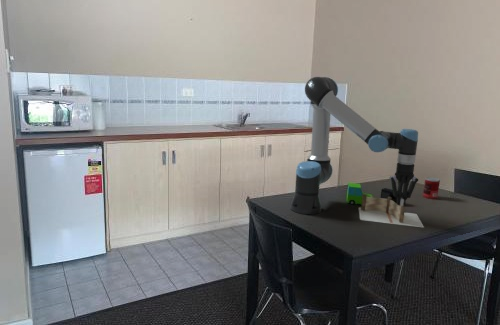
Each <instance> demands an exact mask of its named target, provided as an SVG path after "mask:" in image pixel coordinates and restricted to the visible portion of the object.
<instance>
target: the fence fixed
mask: <svg viewBox="0 0 500 325" xmlns="http://www.w3.org/2000/svg"><path fill="white" fill-rule="evenodd" d="M366 194H367V193H366ZM366 194H363V196H362V204H360V205H361V206H360V208H361V210H363V211H364V210H365V209H367V210H376V211H384V212H386V213H388V211H389V204H390V200H392V197H388V199H384V198H381V197H374V196H373V197H366ZM365 203H366V204H365Z"/></svg>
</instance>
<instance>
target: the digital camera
mask: <svg viewBox="0 0 500 325" xmlns="http://www.w3.org/2000/svg"><path fill="white" fill-rule="evenodd" d="M402 193H403V191H402ZM388 197H392V201H394V202H395V203H397V198H396V197H395V196H393V190H392V189H391V188H387V187H384V188H382V189H381V192H380V198H384V199H388ZM401 198H402V196H401Z"/></svg>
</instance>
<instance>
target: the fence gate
mask: <svg viewBox="0 0 500 325" xmlns="http://www.w3.org/2000/svg"><path fill="white" fill-rule="evenodd" d="M405 210H406V206H405V205H403V206H400V205H397V203H395V202H394V201H392V200H390V204H389V211H388V213H390V214H391V215H393V216H394V217H395V218H397V219H398V220H399V222H403V220H404V213H406V212H405Z"/></svg>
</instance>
